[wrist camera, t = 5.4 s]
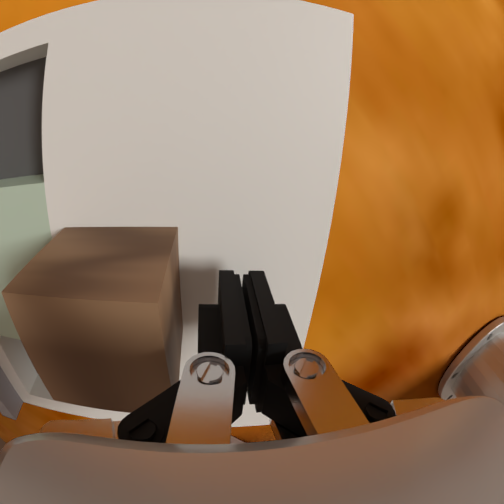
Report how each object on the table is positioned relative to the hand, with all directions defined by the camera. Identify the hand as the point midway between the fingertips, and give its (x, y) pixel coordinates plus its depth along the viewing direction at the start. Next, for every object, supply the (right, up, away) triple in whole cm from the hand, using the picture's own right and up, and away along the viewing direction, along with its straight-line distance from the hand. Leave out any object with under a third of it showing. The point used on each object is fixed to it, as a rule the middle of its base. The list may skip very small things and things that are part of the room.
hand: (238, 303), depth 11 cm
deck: (-8, +2, +3) cm, 8 cm away
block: (-5, +1, +1) cm, 5 cm away
